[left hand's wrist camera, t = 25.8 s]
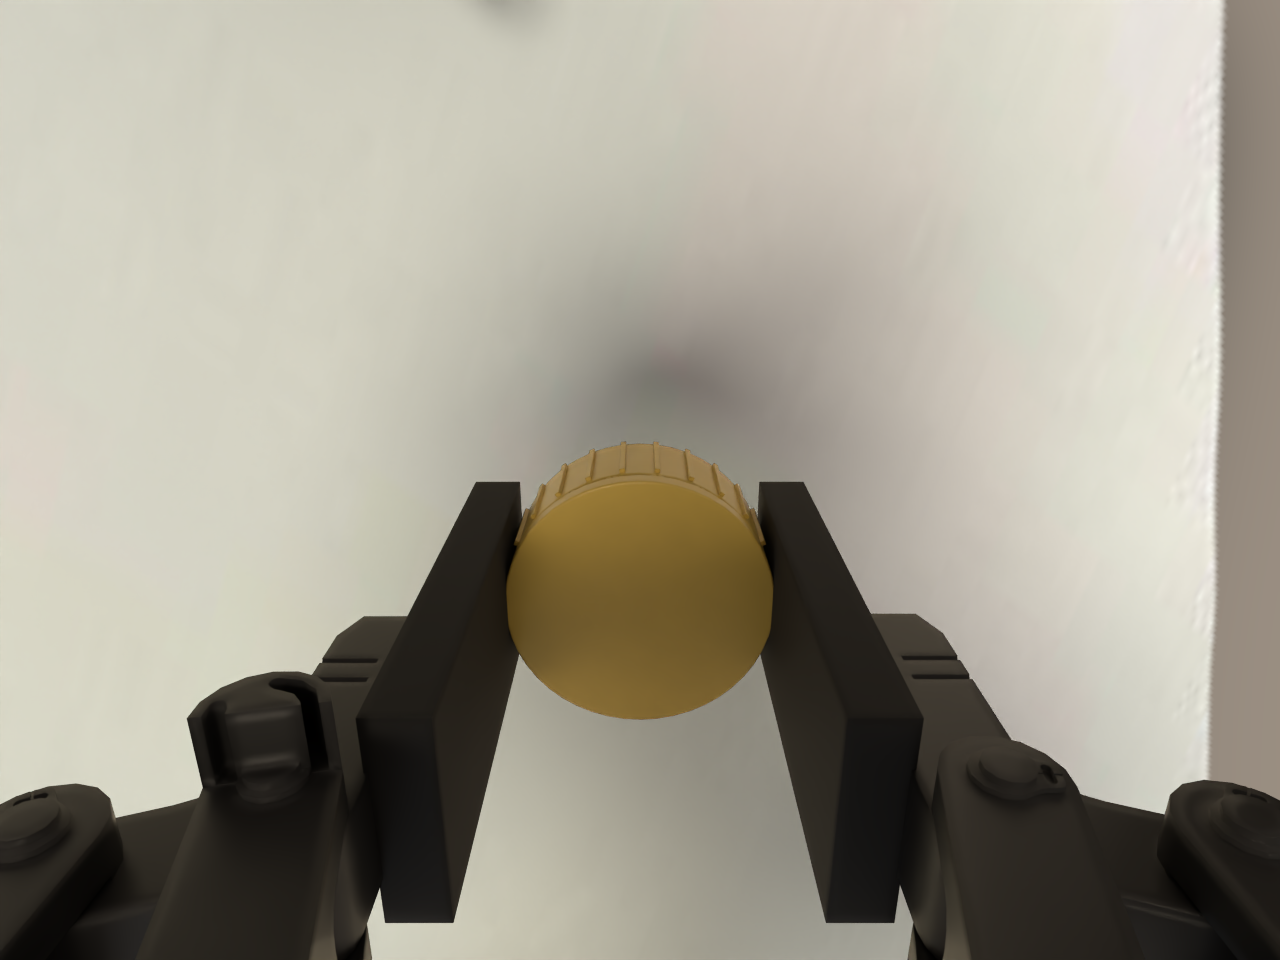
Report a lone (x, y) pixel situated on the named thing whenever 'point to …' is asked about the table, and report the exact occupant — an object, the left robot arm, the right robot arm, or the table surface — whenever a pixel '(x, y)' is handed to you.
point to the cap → (639, 583)
